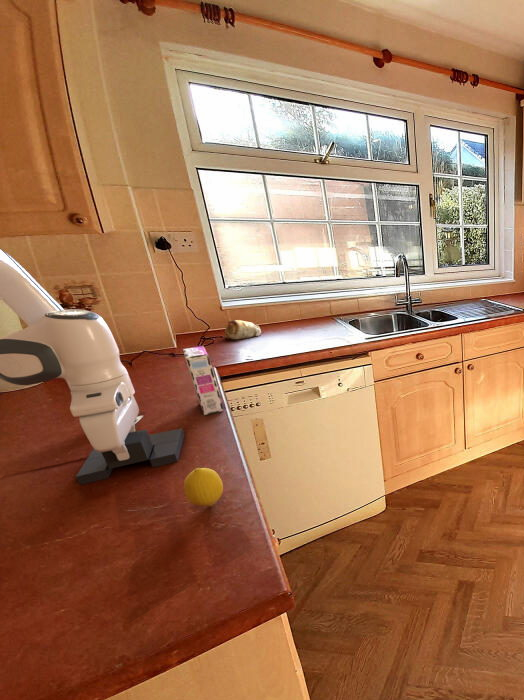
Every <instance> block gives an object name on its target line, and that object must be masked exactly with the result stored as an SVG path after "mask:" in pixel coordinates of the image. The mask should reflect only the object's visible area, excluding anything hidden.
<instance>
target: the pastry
mask: <svg viewBox="0 0 524 700" xmlns="http://www.w3.org/2000/svg"><path fill="white" fill-rule="evenodd" d="M224 334H225V335H224V338H225V339H227V340H228V339H229V340H243V339H249V338H254V337H260V335H261V334H262V330H261V327H260V325H256V324H255V323H253V322H252V321H251V322H250V321H245V320H241V319H237V320H236V319H233V320H229V321H228V322H227V325H226V326H225V329H224Z"/></svg>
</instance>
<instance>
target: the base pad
mask: <svg viewBox="0 0 524 700" xmlns="http://www.w3.org/2000/svg"><path fill="white" fill-rule="evenodd" d="M148 435H149V438H150V440H151V443H152V445H153V448H152V451H151V454H150V456H149V462H150V465H151V467H152V468H157V467H161V466H166V465H169V464H174V463H177V462H178V461H179V459H180V454H181V450H182V446H183V443H184V438H185V433H184V429H183V427H182V428H181V427H180V428H176V429H172V430H167V431H162V432H156V433H153V434H148ZM113 469H114V468H111V469H109V468H108V466H107V464H106V461H105V459H104V457H103V455H102V453H101V452H98V451H96V450H95V449H94V448H93V449H92V451H91V452H90V454H89V455H88V457H87V458H86V460H85V461H84V463H83V465H82V466H81V467H80V469H79V471H78V472H77V474H76V475H75V478H76V480H77V483H78V485H79V486H81V485H85V484H89V483H90V484H91V483H95V482H98V481H103V480H106V479H109V478H110V475H111V474H112V471H113Z"/></svg>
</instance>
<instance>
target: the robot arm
mask: <svg viewBox="0 0 524 700" xmlns="http://www.w3.org/2000/svg"><path fill="white" fill-rule="evenodd" d="M0 300H1V301H2V302H3V303H4V304H5V305H6V306H8V307H9V308H10V309H11V310H12V311H13V312H14V314H16V315H17V316H18V317H19V318H20V319H21V320H22V321H23V322H24V323H25V324H26V325H27V327H25V328H22V329H20V330H17V331H15V332H14V331H13V332H12V333H9V334H6V335H3V336H1V337H0V380H2V381H4V382H6V383H9V384H12V385H17V386H32V385H38V384H43V383H45V382H49V381H52V380H55V379H63V380H64V381H65V382H66V384H67V386H68V388H69V390H70V397H71V400H70V405H69V411H70V413H71V415H72V417H74V418H78V417H79V424H80V426H81V428H82V430H83V433H84V435H85V436H86V438H87V440H88V441H89V444H90V445H91V447H92V448H93V449H95V450H96V451H98V452H106V451H111V450H112V451H113V452H114V453H115V454H116V456H117V458H118V460H119V461H122V460H127V459H129V457H130V455H131V454H130V452H129V449H127V448H126V446H125V445H124V444H125V442H124V441H125V439H126V437H127V435H128V433H130V432H135V431H136V424H134V421H135V419H136V417H137V416H139V414H140V409H139V405H138V402H137V401H136V398H135V396H134V395H135V393H136V391H135V388H134V385H133V383H132V380H131V378H130V376H129V375H130V374H129V372H128V370H127V368H126V367H125V366H124V364H123V363H122V361H121V358H120V349H119V347H118V344H117V342H116V340H115V338H114V335H113V333H112V331H111V329H110V327H109V326H108V324H107V323H106V321H105V320H104V319H103V318H102V316H100V315H99V314H97V313H96V312H94V311H91V310H85V309H72V308H71V309H64V308H63V307H62V306H61V304H59V303H58V301H56V300H55V298H53V297H52V295H50V294H49V293H48V291H46V290H45V289H44V288H43V286H42V285H41V284H40V283H38V281H37V280H36V279H35V278H34V277H33V276H32V275H31V274H30V273H29V272H28V271H27V270H26V269H25V268H24V266H22V265H21V264H20V263H19V262H18V261H17V260H15V259H14V258H13V257H12V256H11V255H9V254H8V253H7V252H6V251H4V250H3V249H2V248H0Z"/></svg>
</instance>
